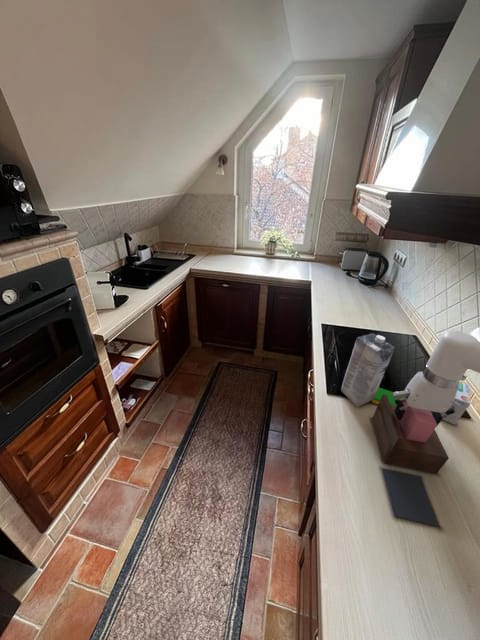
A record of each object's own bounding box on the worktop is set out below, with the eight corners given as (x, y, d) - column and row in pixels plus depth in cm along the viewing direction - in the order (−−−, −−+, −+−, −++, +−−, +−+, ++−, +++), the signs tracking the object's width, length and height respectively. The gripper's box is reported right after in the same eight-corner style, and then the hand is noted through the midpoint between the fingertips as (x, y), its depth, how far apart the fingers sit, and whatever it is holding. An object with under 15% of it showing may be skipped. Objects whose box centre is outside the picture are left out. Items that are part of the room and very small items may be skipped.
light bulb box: (434, 397, 97) (446, 376, 92) (455, 405, 94) (469, 384, 89) (432, 415, 90) (446, 394, 84) (455, 425, 87) (471, 404, 81)
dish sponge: (373, 390, 100) (374, 385, 99) (413, 404, 94) (415, 399, 93) (371, 402, 94) (373, 397, 93) (413, 418, 89) (416, 413, 88)
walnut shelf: (415, 426, 86) (430, 402, 80) (436, 474, 72) (456, 449, 66) (371, 418, 88) (382, 394, 82) (384, 463, 75) (398, 438, 69)
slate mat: (420, 477, 72) (420, 476, 71) (439, 527, 62) (439, 526, 61) (382, 469, 73) (382, 468, 73) (394, 516, 63) (395, 515, 63)
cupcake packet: (414, 417, 80) (424, 399, 76) (425, 442, 72) (437, 424, 68) (396, 413, 80) (405, 396, 76) (406, 439, 73) (417, 420, 69)
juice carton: (357, 410, 91) (380, 350, 77) (336, 390, 99) (354, 332, 86) (375, 402, 94) (400, 344, 81) (354, 383, 103) (373, 327, 89)
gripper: (470, 371, 67) (441, 414, 76) (399, 361, 70) (380, 403, 79) (487, 392, 61) (454, 436, 70) (409, 380, 64) (386, 424, 73)
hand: (414, 419), depth 74 cm, fingers open, 9 cm apart
